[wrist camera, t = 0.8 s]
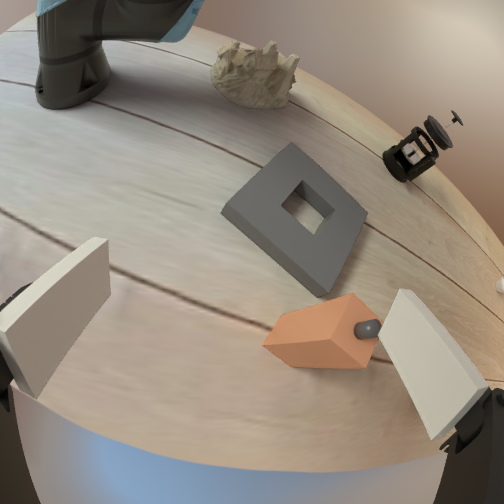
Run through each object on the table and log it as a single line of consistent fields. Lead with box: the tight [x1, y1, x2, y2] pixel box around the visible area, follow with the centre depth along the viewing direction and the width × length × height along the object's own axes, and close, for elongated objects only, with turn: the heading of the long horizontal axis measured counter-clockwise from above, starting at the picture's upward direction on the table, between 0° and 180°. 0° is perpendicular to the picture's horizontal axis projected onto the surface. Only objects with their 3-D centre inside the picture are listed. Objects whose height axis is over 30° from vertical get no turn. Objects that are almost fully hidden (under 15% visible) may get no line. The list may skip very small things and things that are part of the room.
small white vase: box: [496, 277, 504, 293], centre depth 68 cm, size 6×6×7 cm
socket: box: [221, 142, 368, 297], centre depth 41 cm, size 18×18×3 cm
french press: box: [383, 111, 463, 182], centre depth 50 cm, size 12×9×23 cm
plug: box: [262, 293, 383, 369], centre depth 27 cm, size 5×5×16 cm
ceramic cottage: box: [211, 40, 300, 109], centre depth 44 cm, size 16×16×15 cm
